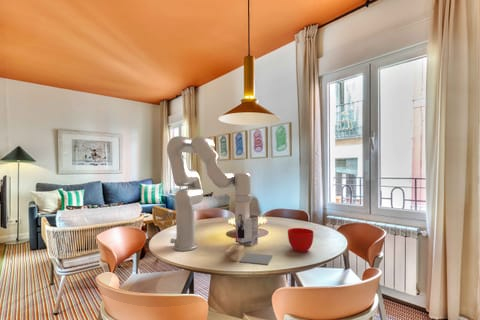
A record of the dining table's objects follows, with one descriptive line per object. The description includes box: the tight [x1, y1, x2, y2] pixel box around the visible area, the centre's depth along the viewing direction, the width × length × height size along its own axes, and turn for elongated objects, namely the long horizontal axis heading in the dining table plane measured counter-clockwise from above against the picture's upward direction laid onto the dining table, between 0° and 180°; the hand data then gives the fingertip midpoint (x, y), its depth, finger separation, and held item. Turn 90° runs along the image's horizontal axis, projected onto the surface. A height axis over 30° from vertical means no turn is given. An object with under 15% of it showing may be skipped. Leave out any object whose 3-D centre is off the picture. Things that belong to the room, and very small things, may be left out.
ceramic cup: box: [287, 227, 314, 253], centre depth 135 cm, size 13×17×10 cm
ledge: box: [224, 244, 245, 262], centre depth 124 cm, size 6×11×4 cm, turn 164°
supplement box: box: [235, 218, 252, 245], centre depth 123 cm, size 6×6×12 cm
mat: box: [239, 252, 273, 266], centre depth 121 cm, size 13×12×1 cm
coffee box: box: [244, 213, 259, 247], centre depth 146 cm, size 9×6×16 cm
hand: (243, 235), depth 123 cm, fingers closed on supplement box, 8 cm apart
